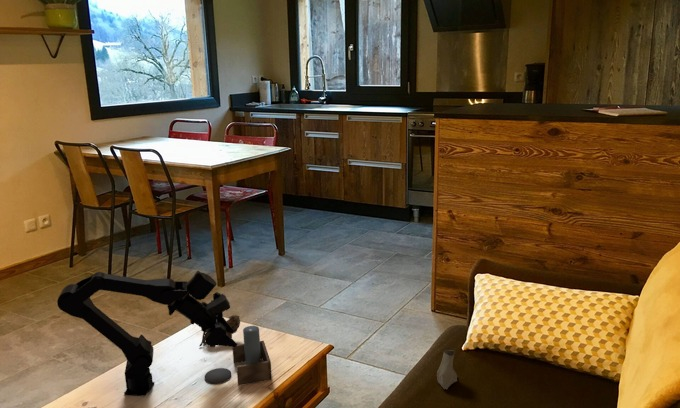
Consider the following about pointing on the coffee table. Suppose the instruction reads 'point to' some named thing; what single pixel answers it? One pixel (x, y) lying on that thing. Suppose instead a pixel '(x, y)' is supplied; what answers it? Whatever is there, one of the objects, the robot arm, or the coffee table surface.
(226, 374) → the coaster
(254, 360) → the grey post
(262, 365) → the crate
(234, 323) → the lion figurine
